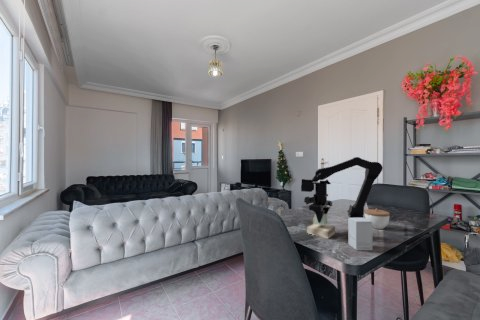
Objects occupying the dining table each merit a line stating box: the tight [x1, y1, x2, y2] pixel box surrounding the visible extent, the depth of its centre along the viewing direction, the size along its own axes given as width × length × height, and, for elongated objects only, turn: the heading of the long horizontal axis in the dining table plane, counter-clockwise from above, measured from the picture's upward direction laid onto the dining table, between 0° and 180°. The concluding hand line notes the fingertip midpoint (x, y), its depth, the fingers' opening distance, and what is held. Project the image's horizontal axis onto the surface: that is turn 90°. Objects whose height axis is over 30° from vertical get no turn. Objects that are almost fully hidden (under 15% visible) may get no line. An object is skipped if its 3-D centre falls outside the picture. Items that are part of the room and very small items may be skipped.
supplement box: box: [347, 217, 373, 251], centre depth 99 cm, size 7×7×13 cm
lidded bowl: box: [364, 207, 390, 230], centre depth 128 cm, size 13×13×11 cm
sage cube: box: [314, 213, 328, 225], centre depth 117 cm, size 5×5×5 cm
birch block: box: [306, 223, 336, 239], centre depth 117 cm, size 11×11×4 cm
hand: (321, 221), depth 117 cm, fingers closed on sage cube, 5 cm apart
